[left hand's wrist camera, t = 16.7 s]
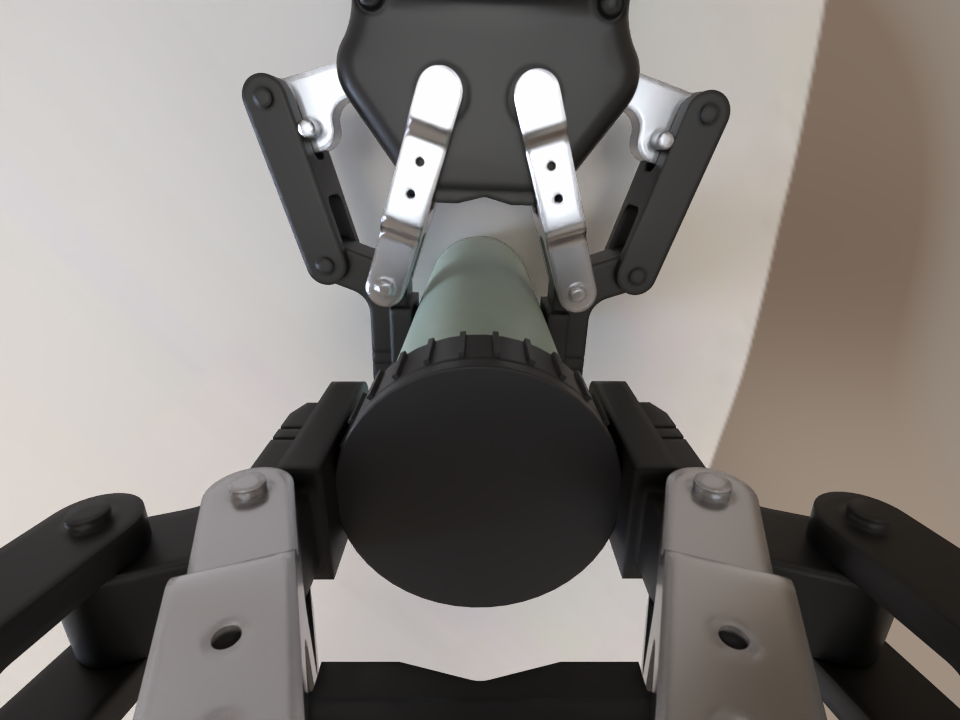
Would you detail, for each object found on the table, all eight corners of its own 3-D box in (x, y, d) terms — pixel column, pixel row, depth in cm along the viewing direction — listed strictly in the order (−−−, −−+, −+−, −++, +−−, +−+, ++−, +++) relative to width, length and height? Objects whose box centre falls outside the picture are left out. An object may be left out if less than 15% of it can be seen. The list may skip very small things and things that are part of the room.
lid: (305, 379, 10) (275, 419, 9) (566, 290, 9) (582, 316, 8) (409, 576, 12) (398, 638, 10) (633, 513, 11) (657, 569, 10)
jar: (499, 218, 23) (532, 325, 9) (543, 303, 24) (633, 516, 10) (413, 266, 23) (312, 436, 9) (460, 346, 25) (436, 600, 11)
